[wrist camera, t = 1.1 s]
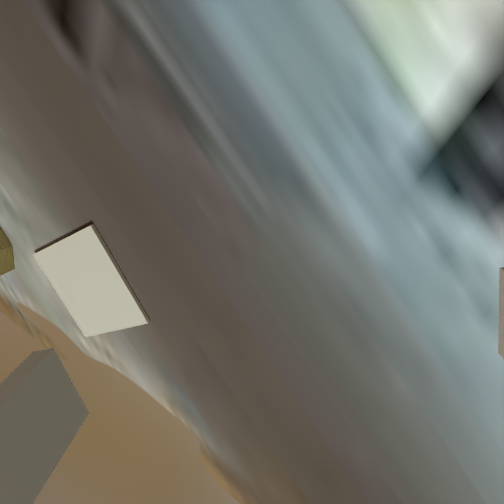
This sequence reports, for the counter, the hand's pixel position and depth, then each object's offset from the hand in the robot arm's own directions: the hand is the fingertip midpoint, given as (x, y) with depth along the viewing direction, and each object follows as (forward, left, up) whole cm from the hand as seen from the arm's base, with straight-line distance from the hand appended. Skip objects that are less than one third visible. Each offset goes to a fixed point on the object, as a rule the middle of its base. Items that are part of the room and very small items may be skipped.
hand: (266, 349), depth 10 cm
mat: (0, -31, -16) cm, 35 cm away
